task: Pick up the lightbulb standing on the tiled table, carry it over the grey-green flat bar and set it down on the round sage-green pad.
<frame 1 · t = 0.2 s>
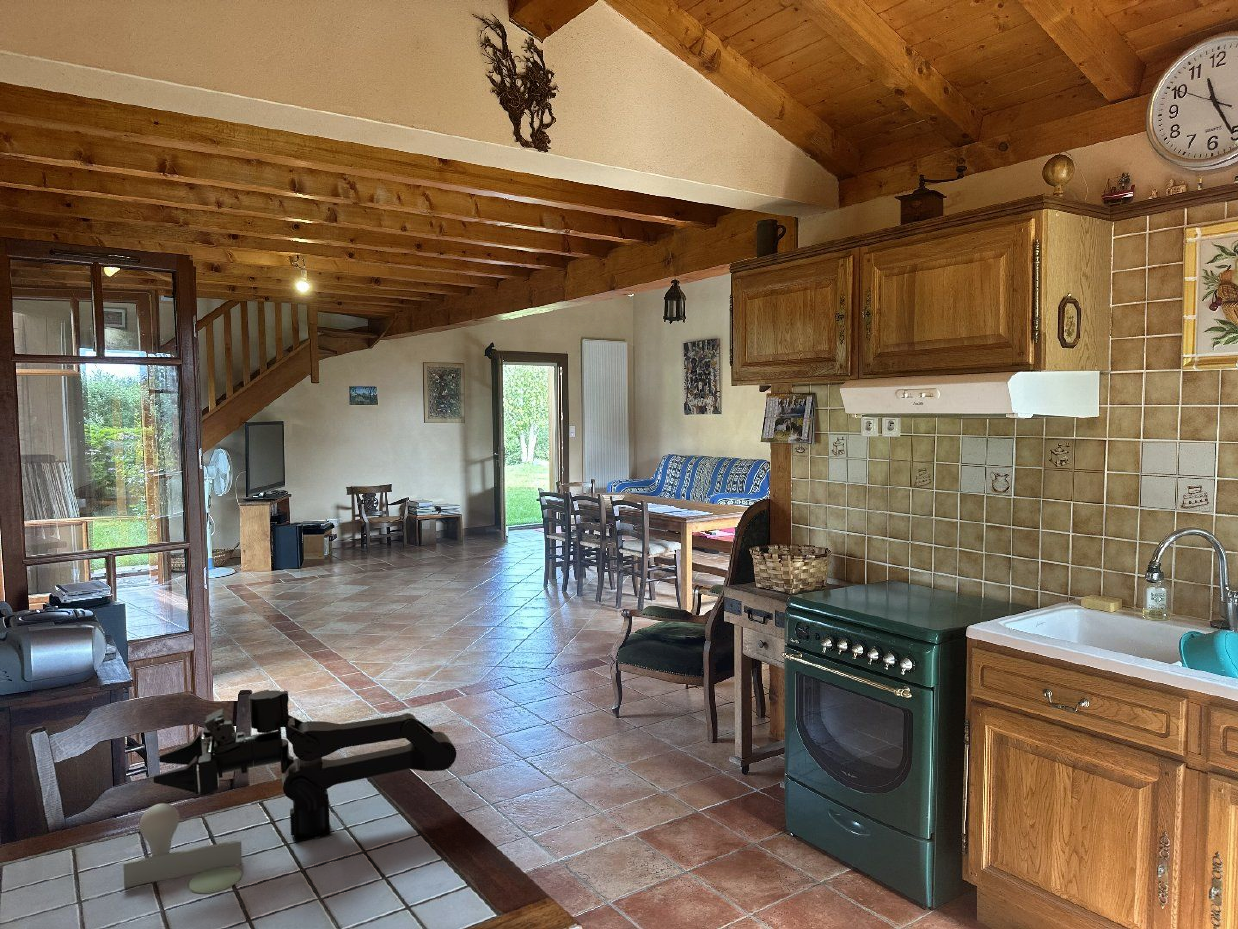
hand: (156, 769, 149), 17 cm above the table, tool horizontal, fingers open, 9 cm apart
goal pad: (215, 880, 142), on the table
grey-green flat bar: (184, 874, 145), on the table
lightbulb: (161, 868, 147), on the table
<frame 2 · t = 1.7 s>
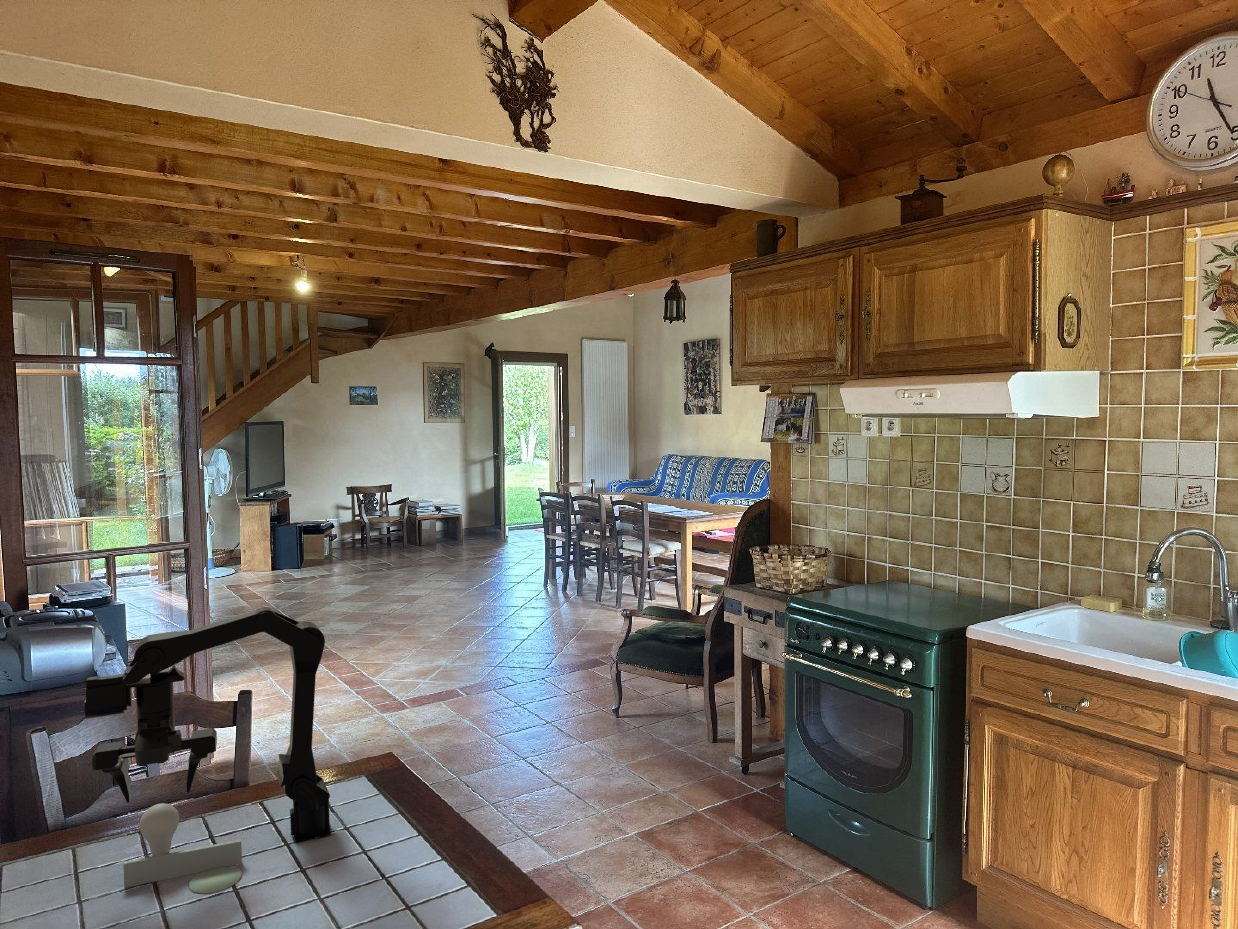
hand: (158, 797, 147), 12 cm above the table, tool pointing down, fingers open, 9 cm apart
nothing on the table moved.
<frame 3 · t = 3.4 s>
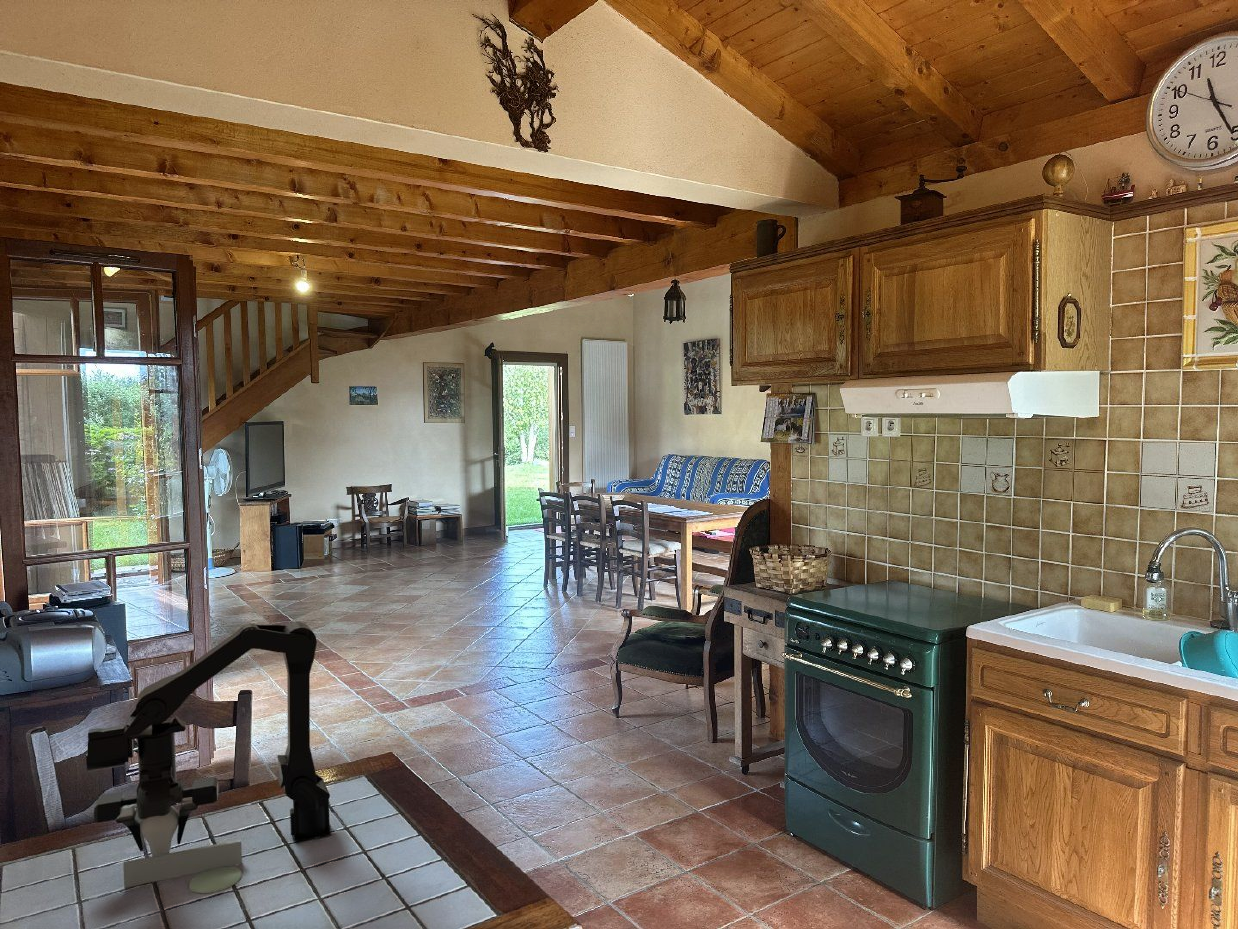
hand: (160, 847, 147), 4 cm above the table, tool pointing down, fingers closed on lightbulb, 5 cm apart
lightbulb: (161, 868, 147), on the table, touching gripper
when the fingers open (5 cm above the table, at t = 7.9 s): lightbulb drops 1 cm, resting on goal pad.
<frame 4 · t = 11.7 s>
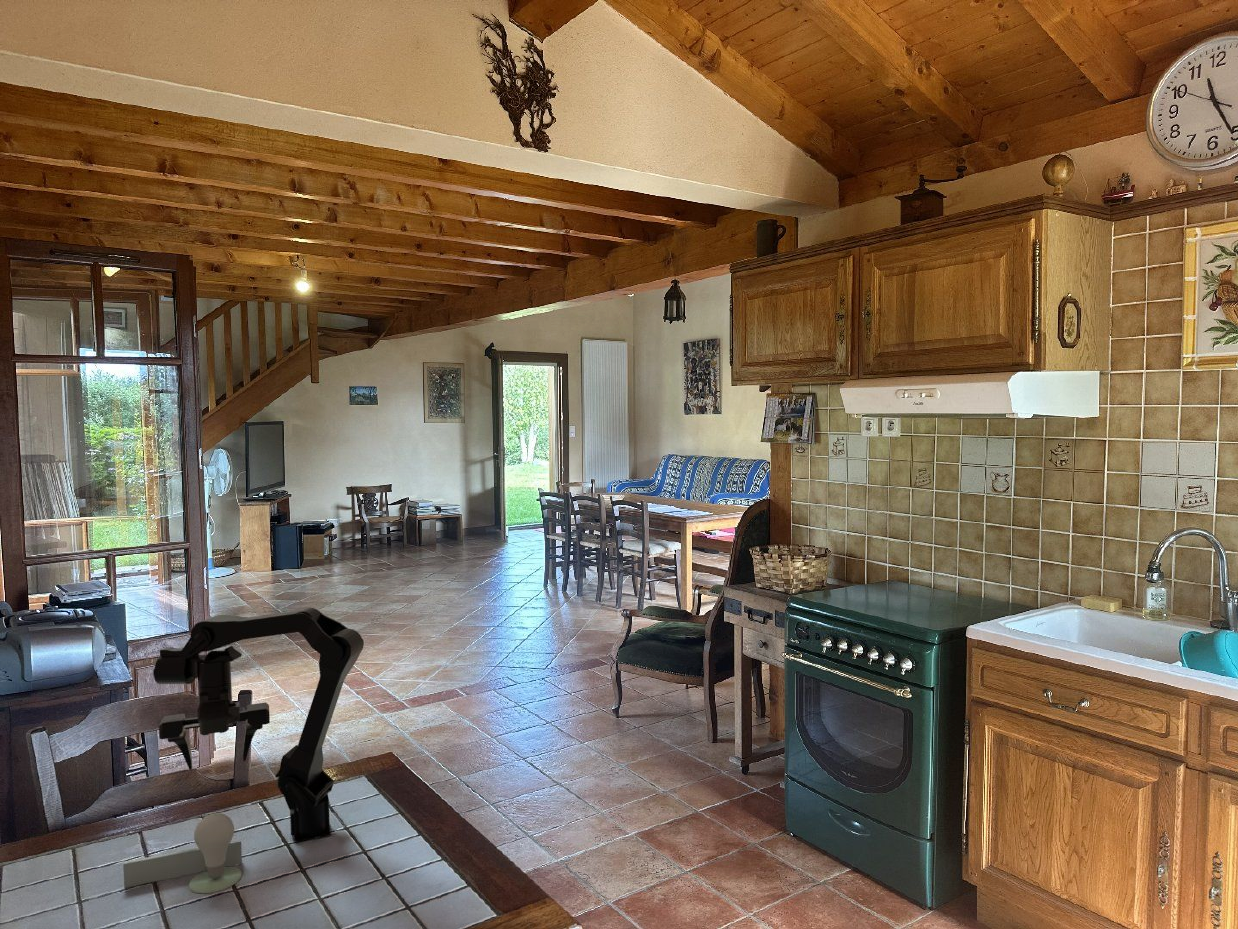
hand: (218, 764, 160), 13 cm above the table, tool pointing down, fingers open, 9 cm apart
lightbulb: (216, 880, 142), resting on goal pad
at the end: lightbulb 0.1 cm from the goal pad (horizontally); lightbulb resting on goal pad; the gripper is holding nothing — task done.
